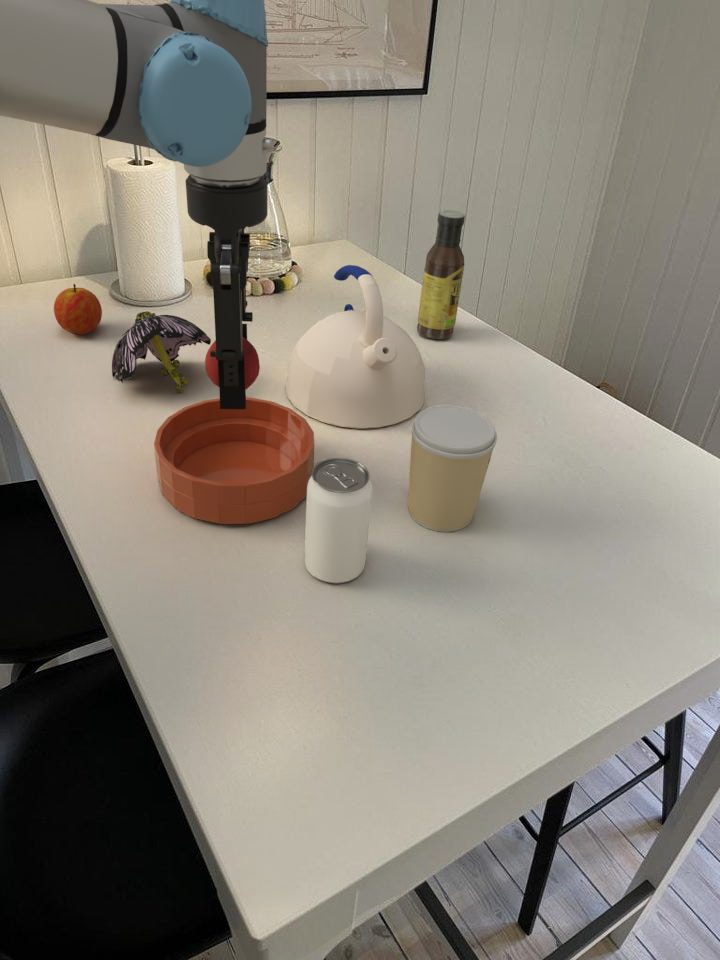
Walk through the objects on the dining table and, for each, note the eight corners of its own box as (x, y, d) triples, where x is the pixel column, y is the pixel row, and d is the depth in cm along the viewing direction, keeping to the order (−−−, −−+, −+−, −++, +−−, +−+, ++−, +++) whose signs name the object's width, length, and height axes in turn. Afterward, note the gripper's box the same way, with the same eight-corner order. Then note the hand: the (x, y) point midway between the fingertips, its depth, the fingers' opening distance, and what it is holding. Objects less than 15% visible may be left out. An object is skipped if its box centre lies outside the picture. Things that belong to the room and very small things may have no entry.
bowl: (149, 528, 83) (143, 485, 79) (169, 435, 97) (165, 395, 94) (315, 528, 85) (316, 485, 81) (310, 437, 99) (311, 398, 95)
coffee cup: (496, 521, 88) (516, 436, 81) (432, 546, 84) (447, 458, 76) (447, 478, 94) (462, 395, 87) (385, 500, 90) (395, 414, 82)
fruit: (55, 325, 119) (46, 277, 115) (100, 319, 122) (93, 272, 117) (61, 344, 114) (52, 295, 110) (108, 338, 117) (101, 289, 112)
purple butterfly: (184, 288, 110) (199, 300, 97) (214, 361, 116) (232, 382, 102) (89, 324, 108) (90, 342, 95) (124, 397, 113) (130, 424, 100)
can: (337, 536, 84) (343, 447, 77) (377, 567, 80) (387, 477, 73) (292, 560, 80) (293, 470, 73) (331, 595, 77) (337, 503, 69)
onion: (258, 380, 87) (257, 315, 82) (261, 406, 82) (261, 340, 77) (206, 381, 85) (202, 316, 81) (207, 408, 81) (203, 340, 76)
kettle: (307, 440, 99) (312, 311, 88) (270, 365, 114) (270, 248, 103) (448, 421, 105) (468, 299, 94) (394, 352, 120) (407, 241, 109)
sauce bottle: (451, 344, 124) (470, 223, 112) (413, 338, 125) (428, 217, 113) (455, 328, 129) (473, 210, 117) (419, 322, 130) (434, 205, 118)
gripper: (265, 209, 63) (267, 439, 77) (268, 151, 78) (269, 352, 91) (173, 205, 62) (192, 439, 76) (194, 147, 77) (207, 351, 91)
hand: (234, 391), depth 84 cm, fingers closed on onion, 6 cm apart
